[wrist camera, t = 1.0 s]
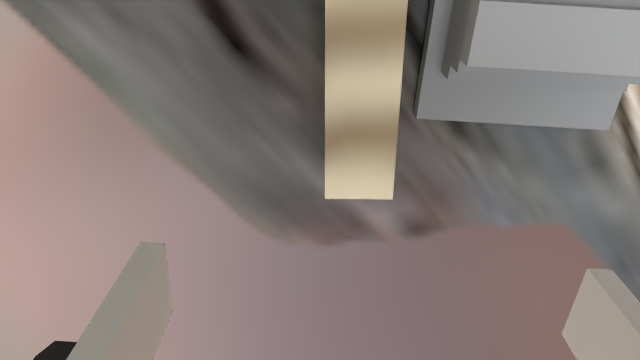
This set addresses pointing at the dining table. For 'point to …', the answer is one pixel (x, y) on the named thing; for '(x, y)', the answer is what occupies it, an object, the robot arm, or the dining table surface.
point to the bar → (362, 96)
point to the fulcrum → (528, 61)
